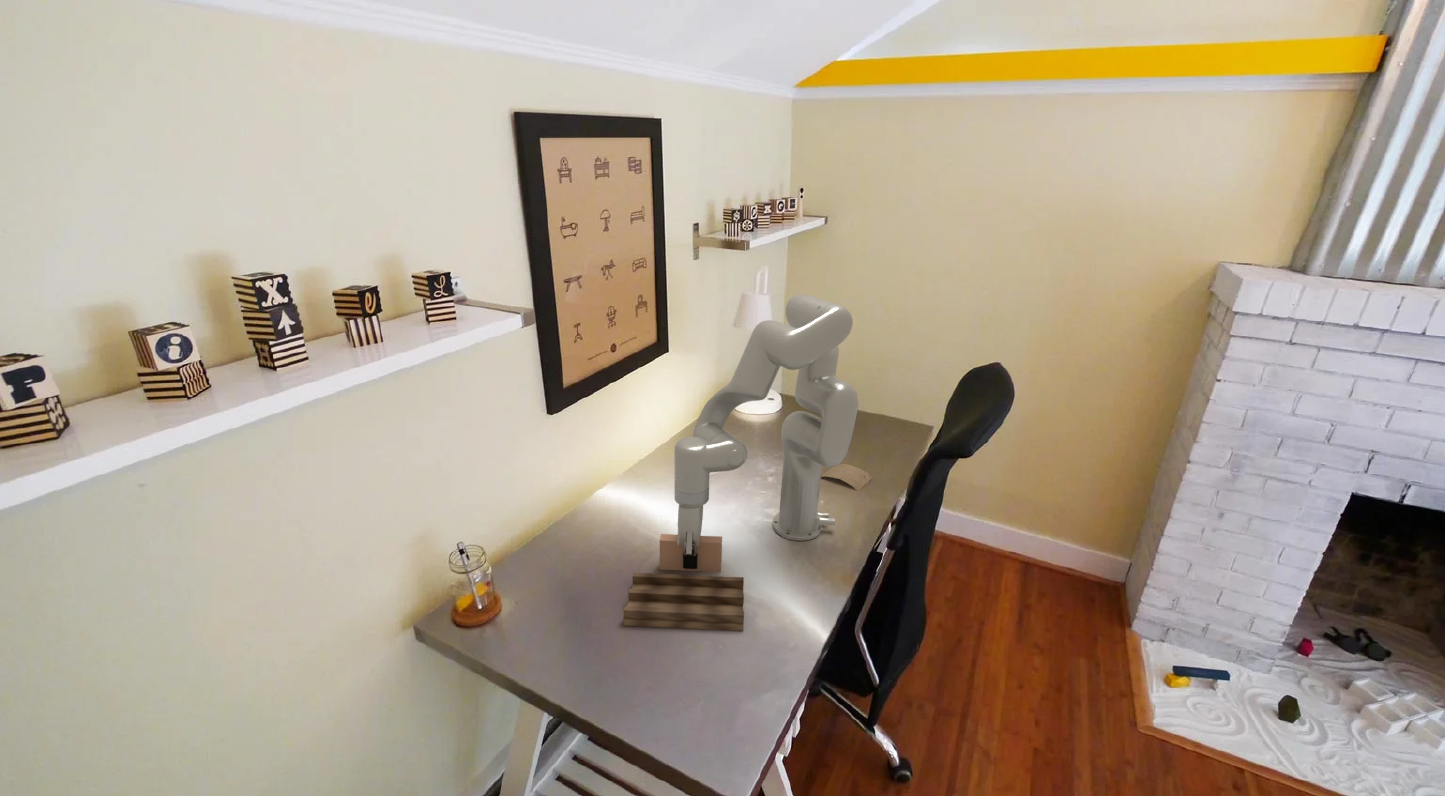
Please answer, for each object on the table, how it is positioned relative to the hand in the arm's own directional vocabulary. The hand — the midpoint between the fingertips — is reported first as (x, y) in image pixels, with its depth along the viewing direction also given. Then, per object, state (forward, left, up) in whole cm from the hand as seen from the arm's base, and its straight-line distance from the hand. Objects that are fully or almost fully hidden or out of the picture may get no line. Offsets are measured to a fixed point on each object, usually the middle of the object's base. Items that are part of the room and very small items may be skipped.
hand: (690, 561), depth 135 cm
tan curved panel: (-43, -45, -3) cm, 62 cm away
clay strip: (0, 0, -2) cm, 2 cm away
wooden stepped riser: (0, +13, -2) cm, 13 cm away
